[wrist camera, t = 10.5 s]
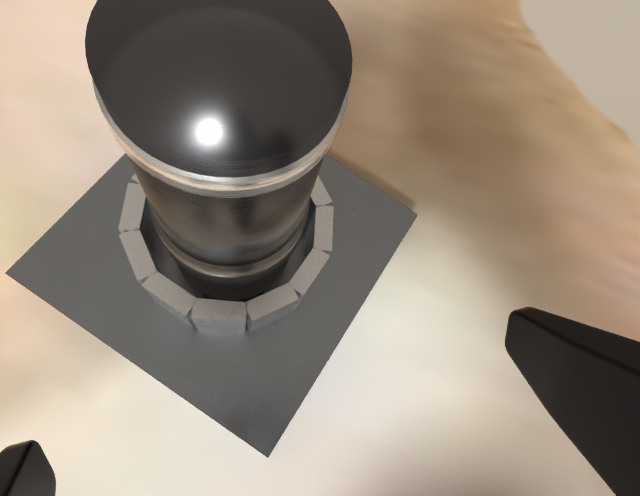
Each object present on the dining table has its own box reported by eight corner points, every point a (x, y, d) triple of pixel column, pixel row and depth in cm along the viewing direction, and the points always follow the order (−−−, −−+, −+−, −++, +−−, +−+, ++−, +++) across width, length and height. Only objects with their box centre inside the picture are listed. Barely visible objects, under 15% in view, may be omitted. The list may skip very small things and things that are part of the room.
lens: (282, 312, 21) (342, 192, 9) (155, 291, 20) (33, 129, 8) (301, 201, 23) (370, -21, 11) (186, 178, 22) (124, -85, 10)
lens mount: (266, 454, 20) (273, 468, 16) (17, 280, 21) (-38, 249, 17) (409, 223, 25) (442, 188, 21) (206, 88, 26) (200, 28, 22)
